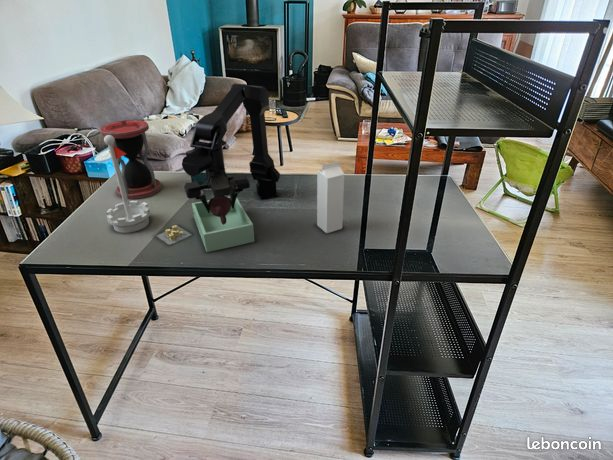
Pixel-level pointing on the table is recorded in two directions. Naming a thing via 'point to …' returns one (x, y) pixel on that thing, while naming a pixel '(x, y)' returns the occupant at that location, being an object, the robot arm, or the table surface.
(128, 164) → the hourglass
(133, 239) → the table surface
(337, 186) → the milk
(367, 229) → the table surface
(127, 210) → the flag stand
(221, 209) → the icecream
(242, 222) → the green open box
